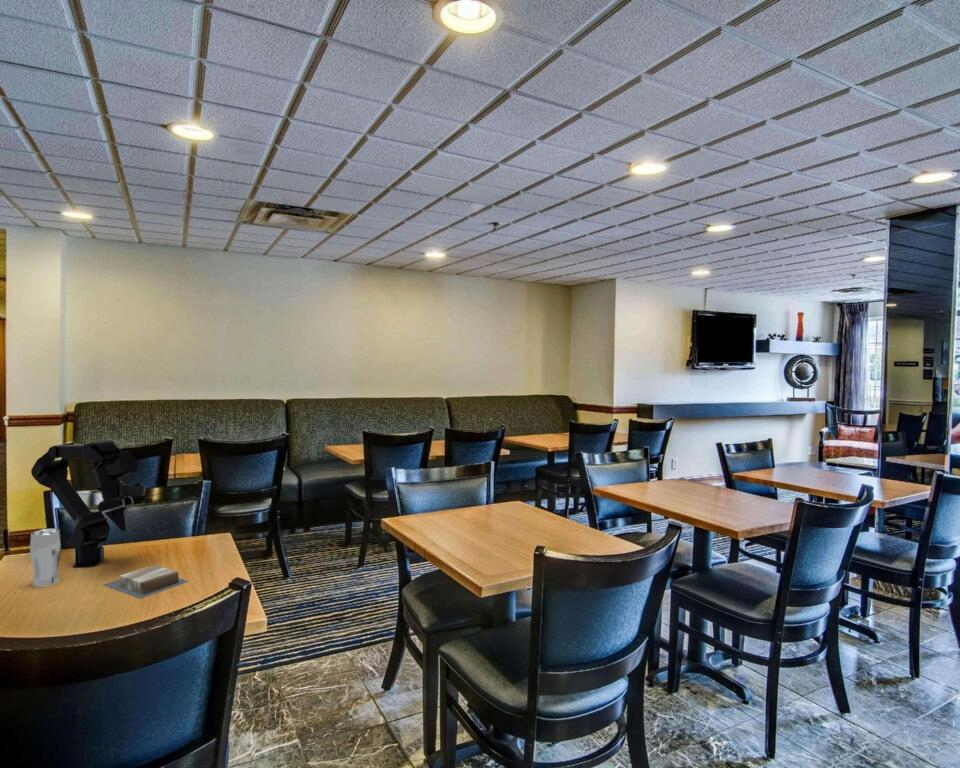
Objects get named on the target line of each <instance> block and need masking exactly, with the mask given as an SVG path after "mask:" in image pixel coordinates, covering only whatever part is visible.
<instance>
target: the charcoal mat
mask: <svg viewBox="0 0 960 768" xmlns="http://www.w3.org/2000/svg"><path fill="white" fill-rule="evenodd" d="M189 582H190V581H189V580H186V579H182V578H180V577H178V583H176V584H173V585H170V586H167V587H164V588H161V589H158V590H156V591H153V592H150V593H147V594H144V595H143V594H140V593H137V592H135V591H132V590H129V589H126V588H123V587H121V586H120V578H118V579H117V580H113V581H110V582H107V583H104V584H102V586H103V587H106V588H109V589H112V590H113V591H117V592H120V593H123V594H124V595H128V596H131V597H134V598H136V599H139V600H141V599H144V598H147V597H151V596H153V595H155V594H158V593H162V592H163V591H164V592H165V591H166V590H169V589H172V588H175V587H178V586H181V585H184V584H186V583H189Z"/></svg>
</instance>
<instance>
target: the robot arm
mask: <svg viewBox="0 0 960 768" xmlns="http://www.w3.org/2000/svg"><path fill="white" fill-rule="evenodd" d="M70 458H71V459H73V458H77V459H78V458H80V459H81V458H82V459H84V461H88V462H92V465H91V466H90V468H89V470H88V471H89V472H90V473H92V472H94V474H95V478H96V481H97V483H98V488H97V490H98V492H100V493H101V497H102V501H100V502H99V503H98V505H97V510H98V511H95V512H93V511H91V509H90V508H89V507H88V505H87V504H86V503H85V501H84V500H83V498H82V497H81V496H80V495H79V493H78V491H77V490H76V489H75V488H74V486H73V485H72V484H71V482H70V481H69V480H68V475H69V469H68V467H69V466H70V464H71V461H70ZM138 461H139V460H137V458H136V457H135V456H134V455H132V454H130V452H129V450H127V451H122V450H121V449H120V448H119V447H118V446H117V445H116V444H115V443H114V441H113V440H109V439H108V440H103V441H95V442H89V443H86V444H58V445H52V446H51V447H49V448H48V450H47V452H46V453H44V454H42V455H41V456H40V457H39V458H37V459H36V461H35V463H34V464H33V465H32V468H31V472H30V474H31V476H32V477H33V479H34V480H35V481H36V482H37V483H38V484H39V485H40V486H43V487H46V488H48V489H50V490H51V491H52V493H53V494H54V496H55V497H56V498H57V499H58V501H59V502H60V504H61V506H62V507H63V508H64V509H65V510H66V512H67V513H68V515H69V516H70V517H71V520H73V529H72V532H73V534H72V536H71V537H70V538H69V539H68V543H69V547H70V548H74V553H75V554H74V557H75V559H74V564H73V565H72V568H83V567H84V568H85V567H87V568H88V567H96V566H98V565H100V564H101V563H102V562H103V561H104V560H105V559H106V557H105V547H104V546H103V542H107V541H108V537H109V534H110V530H111V526H110V524H109V522H108V521H109V520H108V519H110V521H111V522H112V523H114V525H116V527H117V528H118V529H119V530H120V531H121V532H125V531H127V530H128V528H127V526H128V525H127V512H128V510H129V509H130V507H131V506H132V504H133V505H134V504H135V502H134V499H133V496H137V497H144V496H145V497H146V491H147V488H146V487H147V486H146V485H143V483H142V482H134V483H133V485H126V484H125V482H124V481H122V479H121V478H122V477H124V476H127V475H130V474H133V473H135V472H136V471H137V470H138V468H139V462H138ZM105 511H107V512H105ZM103 512H104V513H103ZM105 515H106V516H107V517H108V518H107V517H105Z"/></svg>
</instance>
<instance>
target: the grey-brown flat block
mask: <svg viewBox="0 0 960 768" xmlns="http://www.w3.org/2000/svg"><path fill="white" fill-rule="evenodd" d="M178 578H179V571H177V570H173V569H170V568H167V567H163V566H159V565H156V564H153V565H150V566H147V567H143V568H140V569H137V570H133V571H130V572H128V573H125V574H121V575H119V579H120V586H121V587H123V588H126V589H129V590H132V591H135V592H137V593H140V594H143V595H144V594H147V593H150V592H153V591H156V590H158V589H161V588H164V587H167V586H170V585H173V584H176V583H178Z"/></svg>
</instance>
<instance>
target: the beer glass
mask: <svg viewBox="0 0 960 768" xmlns="http://www.w3.org/2000/svg"><path fill="white" fill-rule="evenodd" d="M61 551H62V536H61V528H60V529H59V528H55V527H51V528H50V527H49V528H42V529H38V530H35V531H33V532H30V542H29V552H30V553H29V554H30V558H31V563H32V568H33V573H34V574H33V580H32V586H33V587H35V588H41V587H49V586H52V585H55V584H58V583H59V582H60V580H61V579H60V576H59V561H60V557H61V553H62V552H61Z"/></svg>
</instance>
